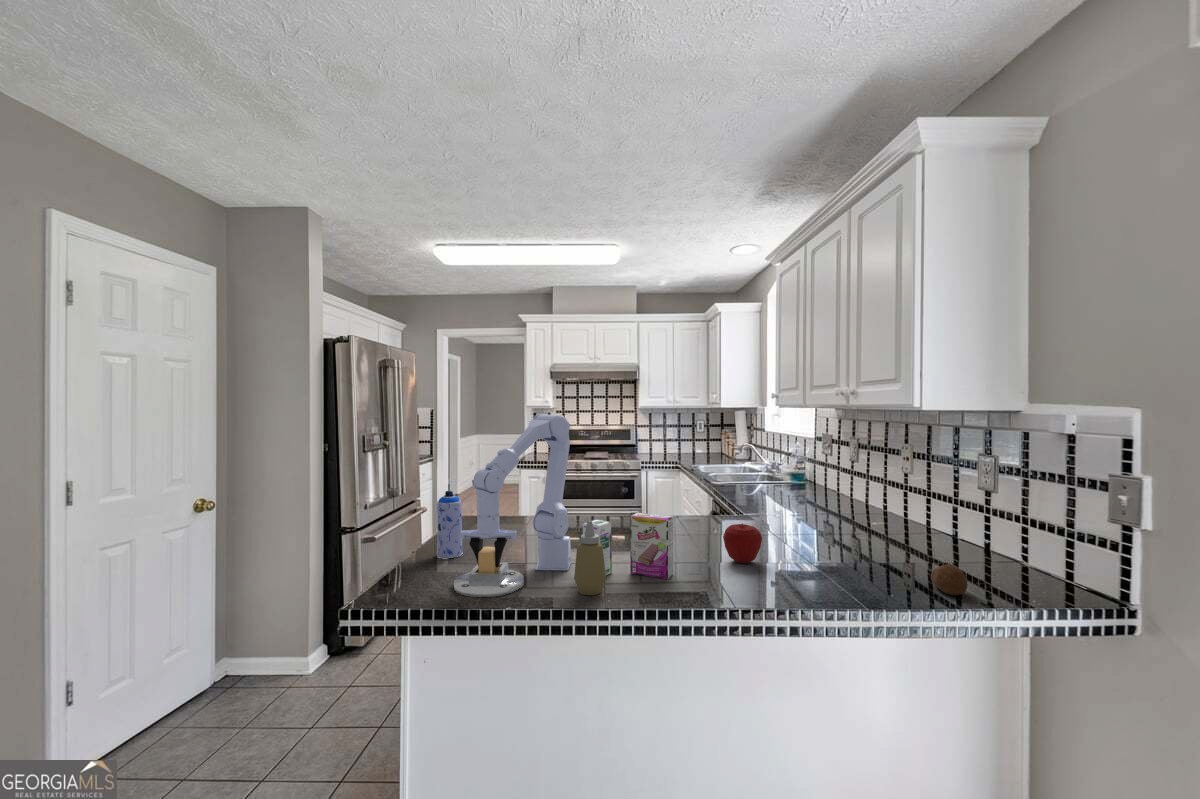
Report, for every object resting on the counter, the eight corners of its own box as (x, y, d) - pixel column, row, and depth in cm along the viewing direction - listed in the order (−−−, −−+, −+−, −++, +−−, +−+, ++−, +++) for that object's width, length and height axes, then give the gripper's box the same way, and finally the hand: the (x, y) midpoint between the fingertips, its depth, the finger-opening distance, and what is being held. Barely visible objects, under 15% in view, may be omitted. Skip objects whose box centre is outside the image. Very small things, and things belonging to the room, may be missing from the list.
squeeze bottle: (582, 600, 140) (582, 526, 140) (569, 589, 147) (568, 519, 147) (611, 594, 144) (611, 522, 143) (597, 584, 151) (596, 516, 150)
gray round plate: (529, 574, 159) (529, 558, 159) (516, 598, 142) (515, 580, 141) (465, 573, 161) (465, 557, 160) (444, 597, 143) (444, 579, 142)
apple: (720, 565, 166) (720, 525, 166) (726, 555, 176) (726, 517, 176) (759, 569, 162) (759, 528, 162) (764, 559, 172) (763, 520, 171)
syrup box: (599, 578, 155) (599, 525, 155) (583, 574, 159) (582, 522, 159) (612, 573, 160) (611, 521, 160) (595, 569, 163) (595, 518, 163)
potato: (948, 584, 149) (948, 557, 149) (977, 599, 139) (978, 570, 138) (922, 585, 148) (922, 558, 148) (950, 600, 138) (950, 571, 138)
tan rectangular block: (499, 568, 154) (499, 546, 154) (493, 576, 148) (493, 553, 148) (484, 568, 154) (484, 546, 154) (478, 576, 148) (478, 553, 148)
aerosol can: (435, 553, 180) (434, 490, 180) (460, 550, 183) (459, 488, 183) (439, 560, 173) (438, 494, 172) (465, 557, 176) (464, 492, 176)
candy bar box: (629, 574, 159) (629, 515, 158) (636, 569, 163) (635, 512, 163) (668, 580, 154) (668, 519, 153) (674, 574, 158) (673, 515, 158)
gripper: (456, 518, 147) (457, 570, 147) (512, 518, 146) (513, 571, 147) (464, 512, 154) (465, 562, 154) (518, 512, 153) (518, 562, 154)
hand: (489, 566), depth 151 cm, fingers closed on tan rectangular block, 4 cm apart
